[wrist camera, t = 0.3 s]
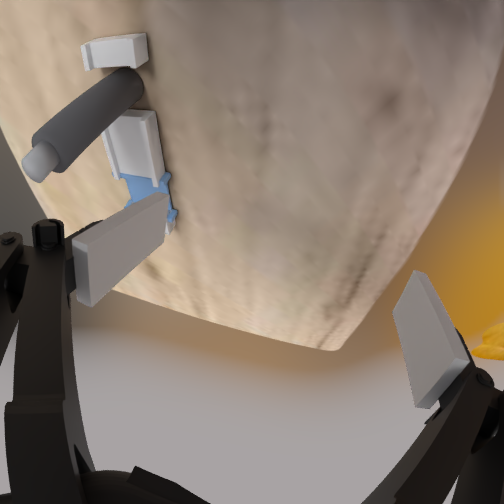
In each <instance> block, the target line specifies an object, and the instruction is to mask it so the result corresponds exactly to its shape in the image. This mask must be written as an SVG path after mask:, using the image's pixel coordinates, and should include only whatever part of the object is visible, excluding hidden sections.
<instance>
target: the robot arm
mask: <svg viewBox="0 0 504 504" xmlns="http://www.w3.org/2000/svg"><path fill="white" fill-rule="evenodd" d="M169 197H170V195H168V194H165V193H161V192H155V193H153V194H151V195H149V196H147V197H145V198H143V199H142V200H140V201H138V202H136V203H134V204H132V205H130V206H128V207H127V208H125V209H123V210H121V211H119V212H117V213H116V214H114V215H112V216H110V217H108V218H107V219H105V220H100V221H96V222H93V223H91V224H89V225H87V226H86V227H85V228H82V229H80V230H79V232H78V231H77V232H75V233H73V234H72V235H70V236H68V237H67V238H64V224H63V222H62V221H60V220H57V219H44V220H40V221H38V222H36V223H34V224H33V226H32V235H33V244H34V247H32V246H26V245H23V238H22V235H21V234H19V233H16V232H8V233H4V234H2V235H0V365H1V363H2V360H3V357H4V354H5V352H6V349H7V347H8V344H9V342H10V339H11V337H12V334H13V332H14V329H15V327H16V325H17V323H18V320H19V324H18V331H17V340H16V351H15V364H14V386H13V400H12V402H7V403H6V405H5V412H4V422H5V442H6V443H5V445H6V457H7V467H8V475H9V482H10V489H11V493H7V494H2V495H0V504H210V503H208V502H207V501H204V500H203V499H201V498H200V497H198V496H196V495H195V494H193V493H191V492H190V491H188V490H186V489H185V488H183V487H181V486H180V485H178V484H177V483H175V482H173V481H170V480H168V479H165V478H162V477H160V476H158V475H155V474H153V473H151V472H148V471H146V470H143V469H142V468H139V467H137V466H135V467H134V469H133V471H132V473H129V472H122V471H114V470H103V471H96V470H95V467H94V464H93V461H92V458H91V455H90V452H89V449H88V446H87V441H86V437H85V432H84V427H83V422H82V416H81V410H80V404H79V398H78V391H77V384H76V375H75V366H74V356H73V343H72V325H71V298H70V293H71V292H72V291H73V290H75V289H76V294H77V301H79V302H81V303H83V304H85V305H87V306H89V307H93V306H94V305H95V304H96V303H97V302H98V301H99V300H100V299H101V298H102V297H103V296H104V295H105V294H107V293H108V292H109V291H110V290H111V289H112V288H113V287H114V286H115V285H116V284H117V283H118V282H120V281H121V280H122V279H123V278H124V277H125V276H126V275H127V274H128V273H129V272H131V271H132V270H133V269H134V268H135V267H136V266H137V265H138V264H140V263H141V262H142V261H143V260H144V259H145V258H146V257H147V256H149V255H150V254H151V253H152V252H153V251H154V250H155V249H157V248H158V247H159V246H160V245H161V244H162V243H164V237H165V228H166V220H167V212H168V204H169ZM392 314H393V317H394V320H395V324H396V328H397V331H398V335H399V339H400V343H401V346H402V350H403V354H404V359H405V362H406V367H407V371H408V376H409V380H410V385H411V390H412V394H413V399H414V405H415V407H418V408H425V409H430V408H431V407H432V406H433V405H434V403H435V402H436V401H437V400H438V399H439V403H440V408H438V410H437V411H436V412H435V413H434V414H433V415H432V416H431V417H430V418H429V419H428V420H427V421H426V422H425V424H427V425H426V426H425V428H424V429H423V430H422V432H421V433H420V435H419V436H418V438H417V439H416V440H415V442H414V443H413V444H412V446H411V447H410V449H409V450H408V451H407V452H406V453H405V455H404V456H403V457H402V459H401V460H400V461H399V462H398V463H397V465H396V466H395V467H394V468H393V469H392V471H391V472H390V473H389V474H388V475H387V476H386V478H385V479H384V480H383V481H382V482H381V483H380V484H379V485H378V487H377V488H376V489H375V490H374V491H373V492H372V493H371V494H370V495H369V496H368V497H367V498H366V499H365V500H364V501H363V502H362V503H361V504H442V503H443V502H444V500H445V499H446V497H447V495H448V494H449V492H450V490H451V488H452V487H453V485H454V483H455V481H456V479H457V477H458V475H459V477H458V481H457V484H456V488H455V492H454V495H453V499H452V502H451V504H504V390H503V391H500V390H498V389H496V388H494V382H493V379H492V378H491V376H490V375H489V374H488V373H487V372H486V371H485V370H483V369H481V368H478V367H476V366H475V364H474V361H473V359H472V357H471V355H470V352H469V351H468V348H467V346H466V344H465V342H464V340H463V337H462V335H461V334H460V333H459V332H458V330H457V329H456V328H455V327H454V325H453V323H452V321H451V319H450V317H449V316H448V313H447V312H446V310H445V308H444V306H443V304H442V302H441V300H440V298H439V296H438V294H437V293H436V291H435V289H434V287H433V285H432V284H431V282H430V280H429V279H428V277H427V275H426V274H425V273H422V272H419V271H417V270H414V271H413V273H412V275H411V277H410V279H409V281H408V283H407V285H406V287H405V289H404V291H403V293H402V295H401V297H400V299H399V300H398V302H397V304H396V306H395V308H394V310H393V311H392Z"/></svg>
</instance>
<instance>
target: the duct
mask: <svg viewBox="0 0 504 504" xmlns="http://www.w3.org/2000/svg"><path fill="white" fill-rule="evenodd" d="M81 51H82V57H83V62H84V66H85V71H90V70H92V69H93V68H102V67H117V66H130V68H137V67H139V66H140V65H142V64H143V63H145V62H147V61H148V60H149V58H148V49H147V39H146V33H138V34H127V35H118V36H111V37H103V38H97V39H93V40H91V41H89V42H87V43H85V44H83V45H81ZM101 135H102V139H103V142H104V145H105V149H106V152H107V155H108V159H109V162H110V165H111V168H112V171H113V172H112V175H113V177H114V178H115V179H116V180H119V179H120V178H124V179H126V182H127V186H128V189H129V192H130V195H131V198H132V200H129V201H128V203H127V204H126V206H125V207H124V209H125V208H127V207H128V206H130V205H132V204H134V203H136V202H138V201H140V200H142V199H143V198H145V197H147V196H149V195H151V194H153V193H155V192H161V193H165V194H168V195H169V190H168V184H167V182H168V180H169V179H170V178H171V175H170V173H168V172H165V166H164V161H163V155H162V149H161V144H160V137H159V131H158V125H157V119H156V112H155V111H148V110H132V109H127V110H126V111H125V112H124V113H123V114H122V115H121V116H119V117H118V118H117V119H116V120H115V121H114V122H113V123H112V124H111V125H110V126H109V127H107V128H106V129H105V130H104V131H103V132H102V133H101ZM177 214H178V213H177V210H174V209H172V205H171V200H170V197H169V204H168V212H167V220H166V228H165V234H168V235H170V233H171V231H172V230H173V228H174V226H175V224H176V222H175V217H176V216H177Z"/></svg>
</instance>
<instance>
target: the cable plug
mask: <svg viewBox="0 0 504 504" xmlns="http://www.w3.org/2000/svg"><path fill="white" fill-rule="evenodd" d="M142 94H143V83H142V81H141V79H140V77H139V76H138V74H137V73H135V72H134V71H133V70H131V69H128V68H120V69H118V70H116V71H114V72H113V73H111V74H110V75H108V76H107V77H105V78H104V79H102V80H101V81H100V82H98V83H97V84H95V85H94V86H92V87H91V88H90V89H88V90H87V91H86V92H84V93H83V94H82V95H80V96H79V97H78V98H76V99H75V100H74V101H72V102H71V103H70V104H69V105H67V106H66V107H65V108H64V109H62V110H61V111H60V112H59V113H57V114H56V115H55V116H54V117H53V118H52V119H50V120H49V121H48V122H47V123H46V124H45V125H44V126H42V127H41V128H40V129H39V130H38V131H37V132H36V133H35V134H34V135H33V137H32V147H33V149H32V150H31V151H30V152H29V153H28V154H27V155H26V156H25V157H24V158H23V159H22V162H21V163H22V167H23V169H24V171H25V173H26V174H27V175H28V176H29V177H30V178H31V179H32V180H33V181H35V182H37V183H41V182H42V181H43V180H44V179H45V178H46V177H47V176H48V175H49V173H50V172H51V171H53V172H56V173H62V172H64V171H65V170H66V169H67V168H68V167H69V166H70V165H71V164H72V163H73V162H74V160H75V159H76V158H77V157H78V156H79V155H80V154H81V153H82V152H83V151H84V150H85V149H86V148H87V147H88V146H89V145H90V144H91V143H92V142H93V141H94V140H95V139H96V138H97V137H98V136H99V135H100V134H101V133H102V132H103V131H104V130H105V129H106V128H107V127H109V126H110V125H111V124H112V123H113V122H114V121H115V120H116V119H117V118H118V117H119V116H121V115H122V114H123V113H124V112H125V111H126V110H127V109H129V108H130V107H131V106H132V105H133V104H134V103H136V102H137V101H138V100H139V99H140V98H141V96H142Z"/></svg>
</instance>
